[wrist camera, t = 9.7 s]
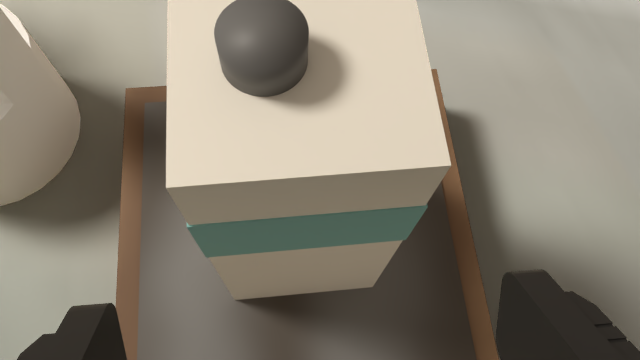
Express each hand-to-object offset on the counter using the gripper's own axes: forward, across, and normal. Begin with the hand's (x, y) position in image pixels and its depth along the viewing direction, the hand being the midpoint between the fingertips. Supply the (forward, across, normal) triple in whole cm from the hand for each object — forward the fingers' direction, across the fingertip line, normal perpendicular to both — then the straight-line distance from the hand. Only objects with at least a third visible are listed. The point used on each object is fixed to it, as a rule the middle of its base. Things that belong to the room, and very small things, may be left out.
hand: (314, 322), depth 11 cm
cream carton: (+12, 0, +4) cm, 13 cm away
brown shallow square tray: (+15, 0, +7) cm, 17 cm away
